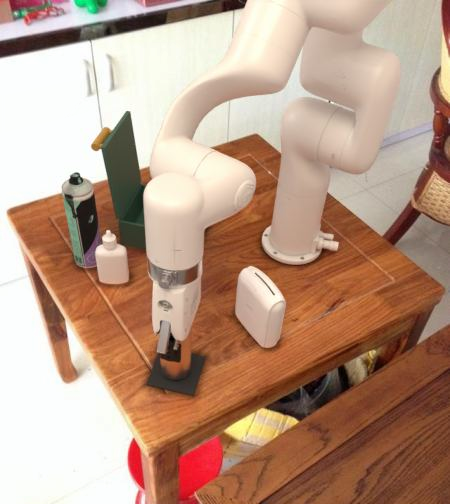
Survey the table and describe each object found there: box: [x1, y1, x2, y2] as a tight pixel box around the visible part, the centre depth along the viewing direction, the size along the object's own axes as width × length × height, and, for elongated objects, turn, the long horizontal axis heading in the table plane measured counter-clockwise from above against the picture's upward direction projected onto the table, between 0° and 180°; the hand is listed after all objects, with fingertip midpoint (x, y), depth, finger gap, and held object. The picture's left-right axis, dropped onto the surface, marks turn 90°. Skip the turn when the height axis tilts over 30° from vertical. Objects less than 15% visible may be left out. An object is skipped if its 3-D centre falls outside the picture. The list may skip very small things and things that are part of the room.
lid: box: [90, 110, 142, 221], centre depth 107 cm, size 16×13×5 cm
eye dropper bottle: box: [95, 229, 130, 285], centre depth 103 cm, size 4×6×12 cm
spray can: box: [61, 171, 103, 269], centre depth 103 cm, size 6×6×20 cm
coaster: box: [145, 352, 207, 397], centre depth 94 cm, size 8×8×1 cm
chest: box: [117, 183, 147, 251], centre depth 115 cm, size 15×13×6 cm
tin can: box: [158, 325, 193, 380], centre depth 89 cm, size 5×5×12 cm
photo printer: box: [234, 265, 287, 349], centre depth 96 cm, size 10×4×12 cm, turn 32°
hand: (176, 344), depth 88 cm, fingers closed on tin can, 5 cm apart
